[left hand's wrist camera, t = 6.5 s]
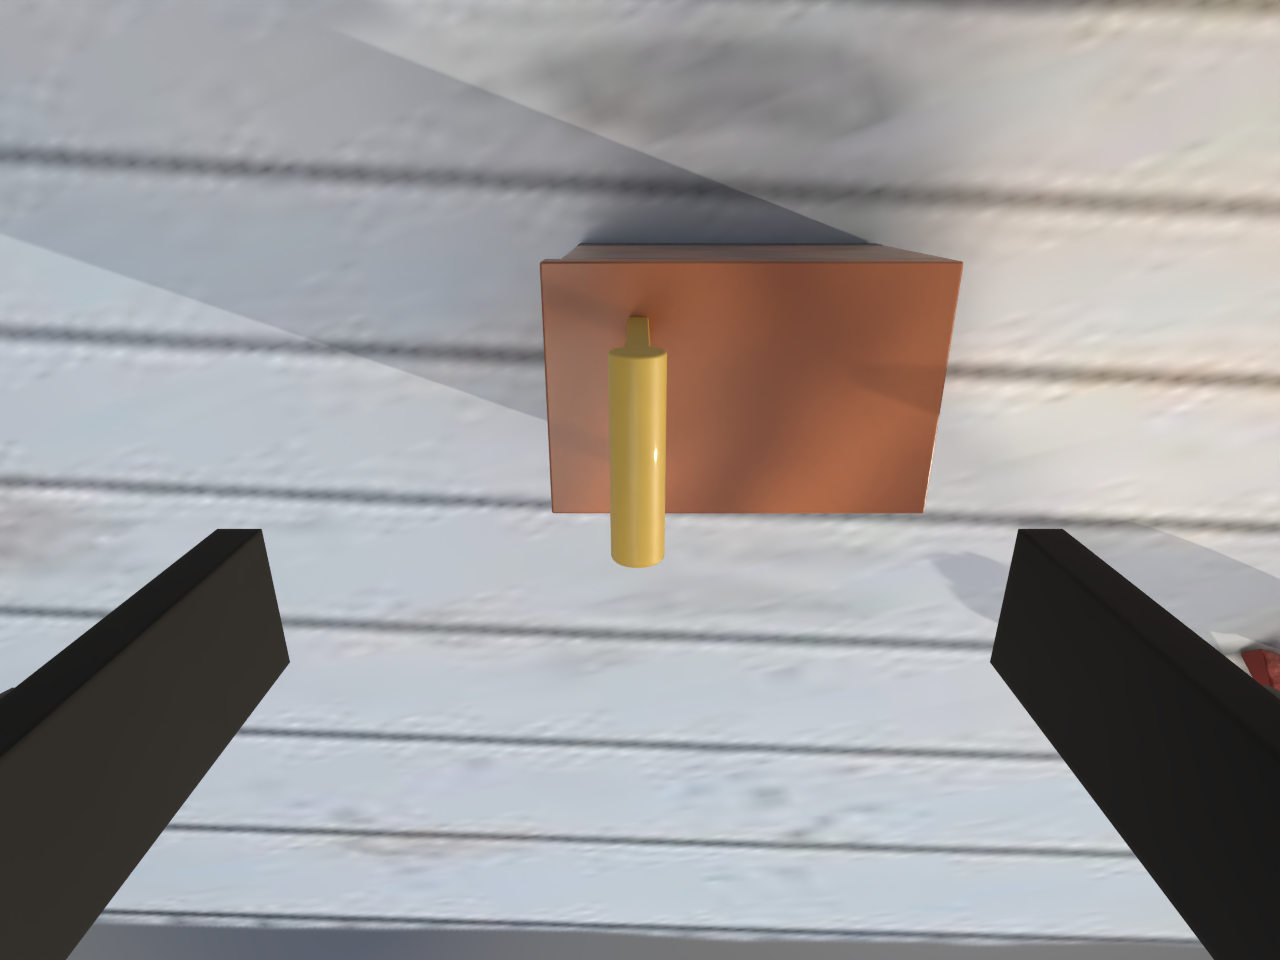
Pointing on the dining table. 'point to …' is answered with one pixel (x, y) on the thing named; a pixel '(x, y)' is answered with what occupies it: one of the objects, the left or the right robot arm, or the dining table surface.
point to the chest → (742, 251)
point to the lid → (742, 387)
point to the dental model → (1263, 667)
